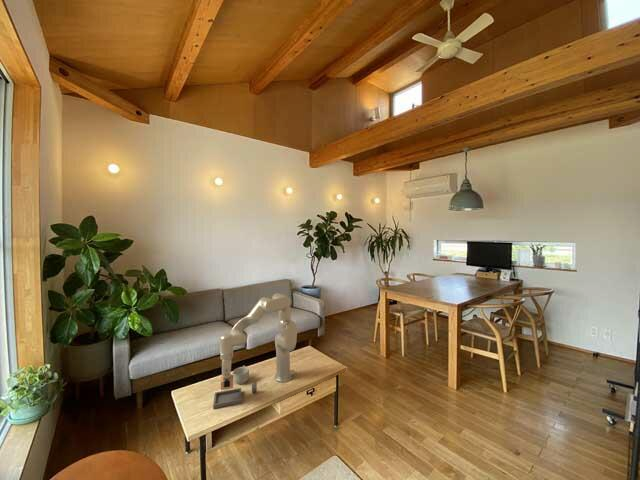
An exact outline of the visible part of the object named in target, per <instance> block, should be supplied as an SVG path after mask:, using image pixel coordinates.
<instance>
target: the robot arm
mask: <svg viewBox="0 0 640 480" xmlns="http://www.w3.org/2000/svg"><path fill="white" fill-rule="evenodd" d="M291 304H292V300H291V298H290V297H289V296H287V295H285V294H281V293H277V292H276V293H274V294H273V295H272V297H271V298H269V297H261V298H260V299H259V300H258V301H257V302H256V304H254V306H253V308H251V310H250V311H249V312H248V314H247V315H245V316H243V317H242V318H241V319H240V320H239V321H237V322H236V324H234V326H233V327H232V329H231V330H230V332H229V333H224V334H222V335H220V339H219V344H220V345H219V347H220V350H219V351H220V352H219V353H220V355H219V356H220V357H219V358H220V360H221V377H223V376H224V387H230V380H229V376H230V375H231V371H232V359H233V357H234V347H238V346H242V345H245V343H246V342H247V341H248V336H247V335H246V334H245V332H244V331H245V330H246V329H247V328H248V327H249V326H251V325H255V324H258V323H259V322H260V320H262V318H263V317H264V316H265V314H266V313H269V314H271V313H277V312H278V320H277V328H278V330H279V331H281V332H278V333H277V334H276V335H275V338H274V344H275V345H274V346H275V353H276V354H275V355H276V364H275V365H276V374H274V381H276V382H278V383H285V382H289V381H291V379H293V375H295V374H296V375H297V374H298V371H297V370H295V369H291V352H292V351H294V350H295V349H296V347H297V346H296V345H297V338H298V337H297V336H298V326H297V323H296V322H295V321H293V320H292V319H291V315H292V312H291V311H292V310H291ZM225 376H226V378H225Z"/></svg>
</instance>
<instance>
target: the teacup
mask: <svg viewBox="0 0 640 480" xmlns="http://www.w3.org/2000/svg"><path fill="white" fill-rule="evenodd" d="M232 375H233V383H236V384H238V385H243V384H245V383H247V381H249V378H250V368H249V367H247V366H246V365H243V366H240V367H237V368H235V369H233V371H232Z"/></svg>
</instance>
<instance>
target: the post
mask: <svg viewBox="0 0 640 480" xmlns="http://www.w3.org/2000/svg"><path fill="white" fill-rule="evenodd" d="M257 388H258V386H257V381H253V382H251V395H256V394H257V393H258V390H257Z"/></svg>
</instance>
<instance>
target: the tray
mask: <svg viewBox="0 0 640 480" xmlns="http://www.w3.org/2000/svg"><path fill="white" fill-rule="evenodd" d="M242 396H243V395H242V387H239V388H232V389H226V390H220V391H217V392H214V397H213V405H212V406H213V410H218V409H221V408H226V407H231V406H235V405H236V406H237V405H241V404H243V400H242V398H243V397H242Z"/></svg>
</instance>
